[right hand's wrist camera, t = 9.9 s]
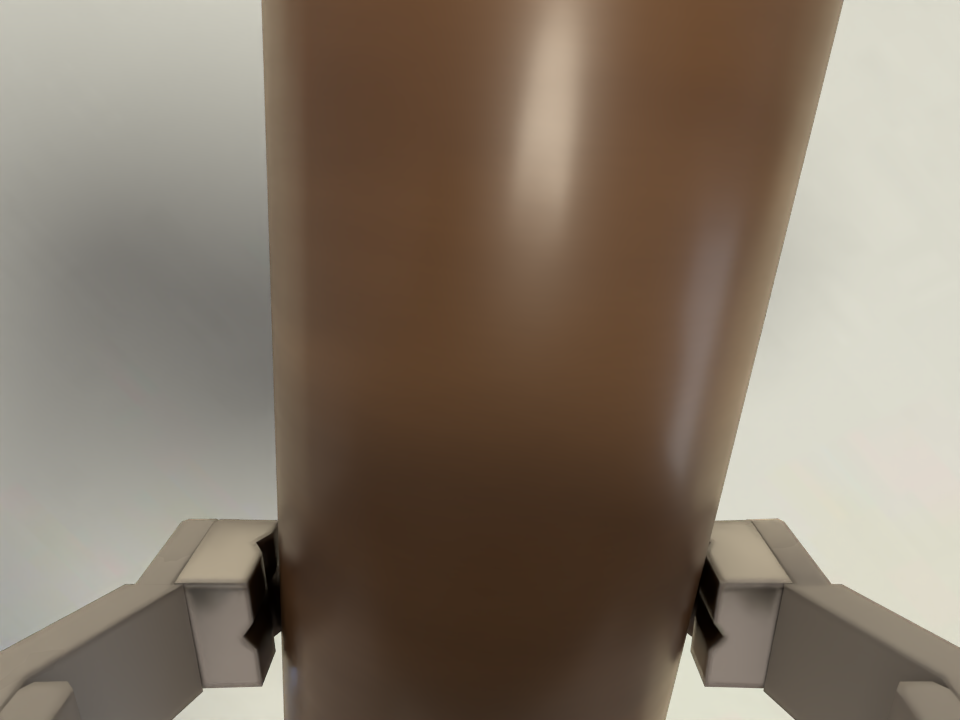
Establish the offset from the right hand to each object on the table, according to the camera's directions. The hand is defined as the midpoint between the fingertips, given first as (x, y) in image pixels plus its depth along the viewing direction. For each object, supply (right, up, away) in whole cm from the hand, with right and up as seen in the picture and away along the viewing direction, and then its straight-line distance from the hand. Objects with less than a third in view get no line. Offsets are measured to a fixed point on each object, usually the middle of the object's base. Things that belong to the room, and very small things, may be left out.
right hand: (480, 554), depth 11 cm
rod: (+1, +8, 0) cm, 9 cm away
